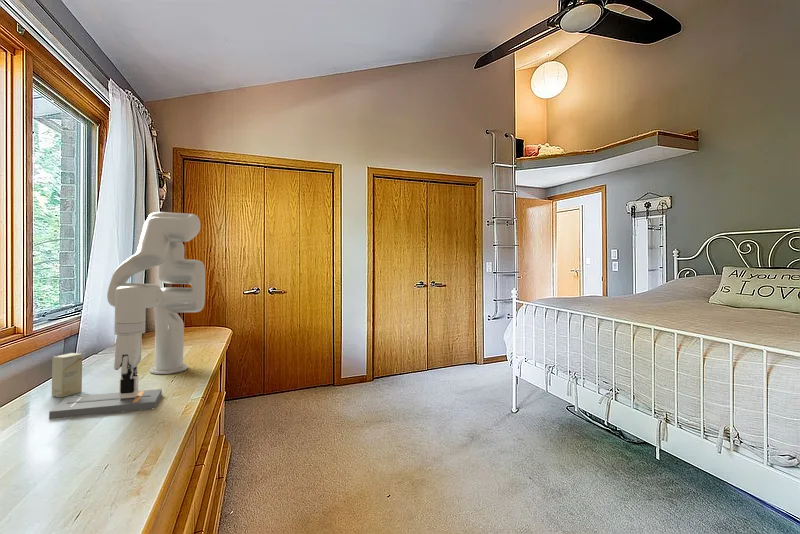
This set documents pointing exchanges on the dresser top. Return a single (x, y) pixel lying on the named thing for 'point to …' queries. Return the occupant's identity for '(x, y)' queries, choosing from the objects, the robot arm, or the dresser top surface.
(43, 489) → the dresser top surface
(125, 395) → the fader tab
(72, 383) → the skincare box
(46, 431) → the dresser top surface
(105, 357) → the dresser top surface
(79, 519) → the dresser top surface
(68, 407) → the fader board
